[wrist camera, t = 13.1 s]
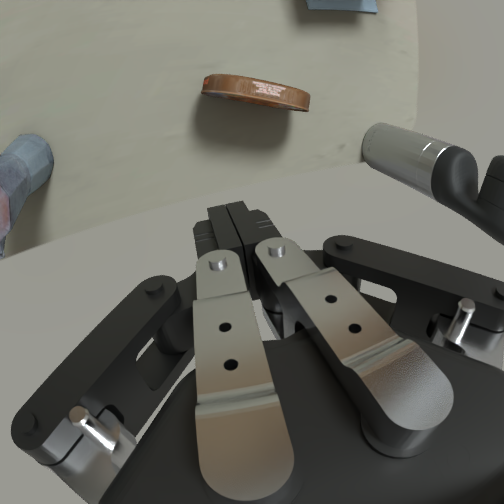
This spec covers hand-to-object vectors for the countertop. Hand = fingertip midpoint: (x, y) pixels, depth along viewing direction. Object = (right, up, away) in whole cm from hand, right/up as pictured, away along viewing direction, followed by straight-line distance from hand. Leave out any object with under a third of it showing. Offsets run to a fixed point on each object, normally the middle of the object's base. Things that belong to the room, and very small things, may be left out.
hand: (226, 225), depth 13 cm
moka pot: (-32, +13, +22) cm, 41 cm away
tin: (+1, +22, +28) cm, 36 cm away
